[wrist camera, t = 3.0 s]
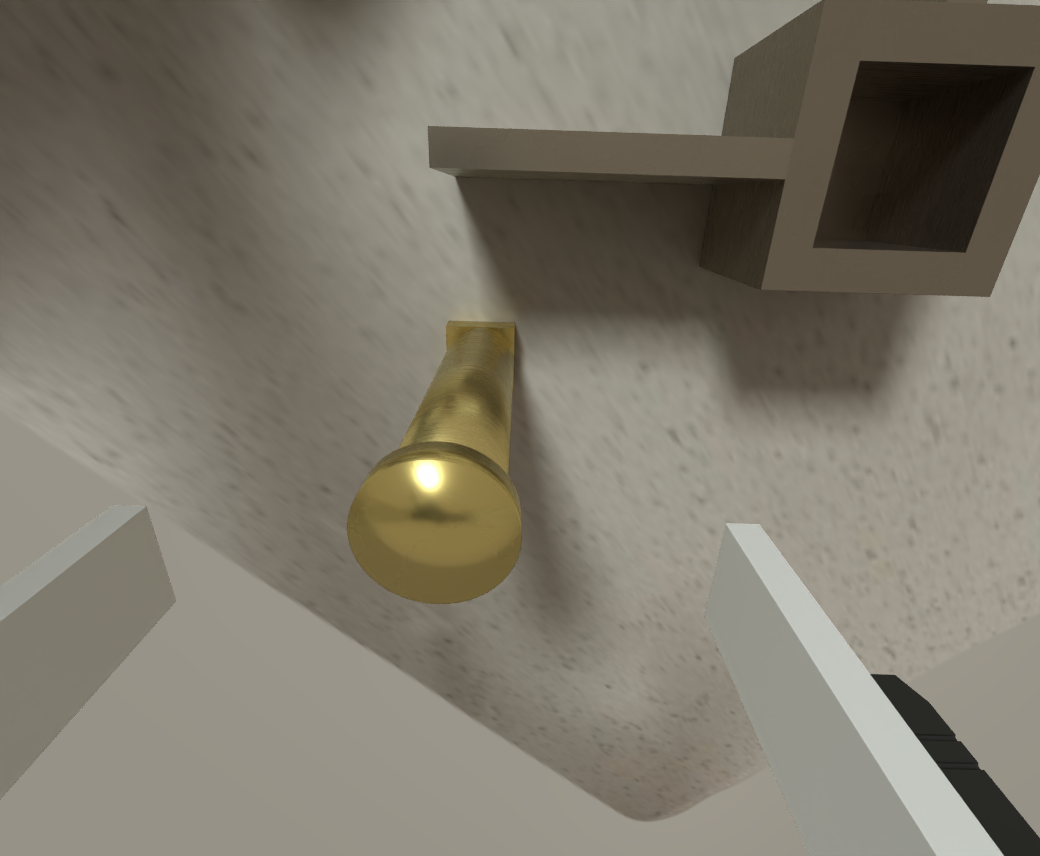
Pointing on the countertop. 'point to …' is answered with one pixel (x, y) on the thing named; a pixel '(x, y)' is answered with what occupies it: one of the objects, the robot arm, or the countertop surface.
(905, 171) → the hinge
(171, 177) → the countertop surface
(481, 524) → the hinge pin
